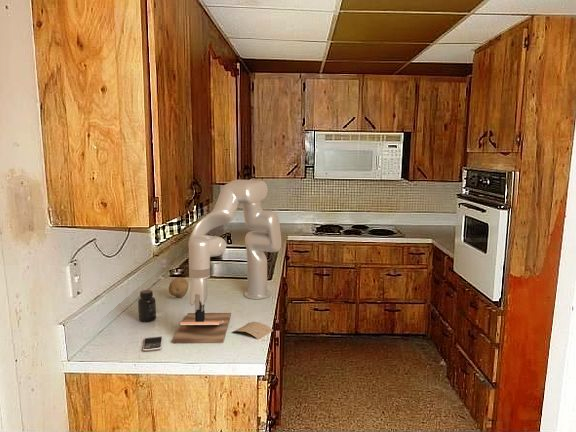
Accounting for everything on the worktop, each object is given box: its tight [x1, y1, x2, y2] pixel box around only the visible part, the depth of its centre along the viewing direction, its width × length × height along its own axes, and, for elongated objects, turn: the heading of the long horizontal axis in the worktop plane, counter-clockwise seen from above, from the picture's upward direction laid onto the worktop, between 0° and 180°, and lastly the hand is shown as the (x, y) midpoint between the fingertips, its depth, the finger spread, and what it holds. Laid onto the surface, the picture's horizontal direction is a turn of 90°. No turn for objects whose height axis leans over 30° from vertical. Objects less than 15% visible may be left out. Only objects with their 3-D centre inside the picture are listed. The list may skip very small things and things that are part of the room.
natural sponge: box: [168, 277, 189, 299], centre depth 203 cm, size 9×9×10 cm
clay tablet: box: [232, 321, 274, 340], centre depth 165 cm, size 14×10×3 cm
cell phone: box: [142, 336, 163, 353], centre depth 154 cm, size 6×11×1 cm, turn 14°
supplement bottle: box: [137, 289, 157, 323], centre depth 177 cm, size 7×7×12 cm
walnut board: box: [172, 312, 232, 344], centre depth 168 cm, size 26×18×2 cm
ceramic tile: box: [179, 320, 223, 326], centre depth 164 cm, size 13×14×1 cm
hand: (200, 321), depth 159 cm, fingers closed
